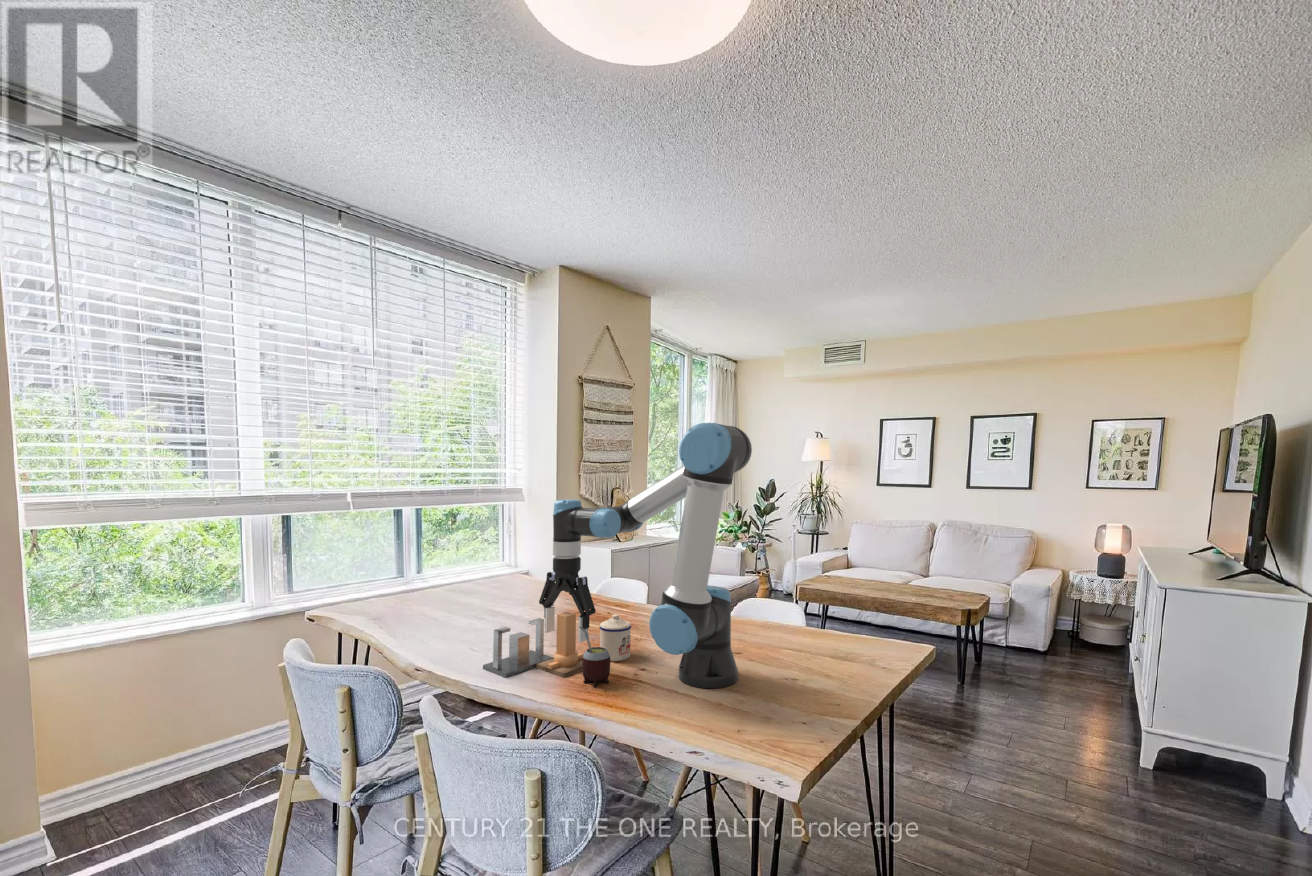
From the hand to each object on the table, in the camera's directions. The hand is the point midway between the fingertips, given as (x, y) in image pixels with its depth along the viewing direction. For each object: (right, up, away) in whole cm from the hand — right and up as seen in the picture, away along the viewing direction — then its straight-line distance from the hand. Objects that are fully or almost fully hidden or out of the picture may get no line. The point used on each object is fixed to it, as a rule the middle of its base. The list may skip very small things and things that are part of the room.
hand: (566, 636), depth 151 cm
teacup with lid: (+13, -9, +9) cm, 18 cm away
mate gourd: (+9, -8, -12) cm, 17 cm away
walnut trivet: (0, -8, -1) cm, 8 cm away
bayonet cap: (0, -7, 0) cm, 7 cm away
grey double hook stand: (-13, -8, +1) cm, 15 cm away
